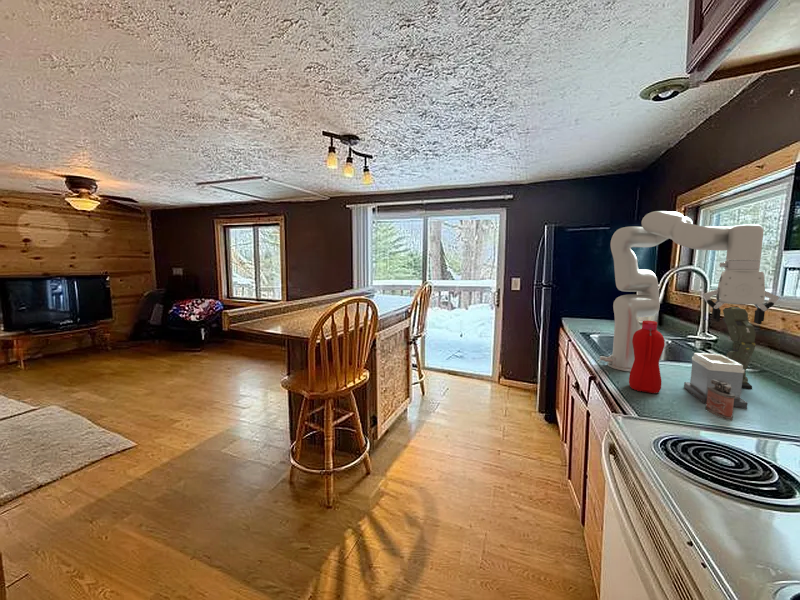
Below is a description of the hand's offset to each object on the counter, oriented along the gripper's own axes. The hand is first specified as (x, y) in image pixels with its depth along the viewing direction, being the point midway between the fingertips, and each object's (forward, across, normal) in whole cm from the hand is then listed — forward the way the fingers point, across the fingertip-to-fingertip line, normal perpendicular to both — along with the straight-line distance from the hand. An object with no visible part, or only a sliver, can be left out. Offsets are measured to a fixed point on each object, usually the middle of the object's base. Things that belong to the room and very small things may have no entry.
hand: (736, 322), depth 110 cm
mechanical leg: (+27, +10, +31) cm, 43 cm away
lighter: (+28, -4, -7) cm, 29 cm away
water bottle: (+28, -21, +7) cm, 35 cm away
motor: (+27, -1, +10) cm, 29 cm away
